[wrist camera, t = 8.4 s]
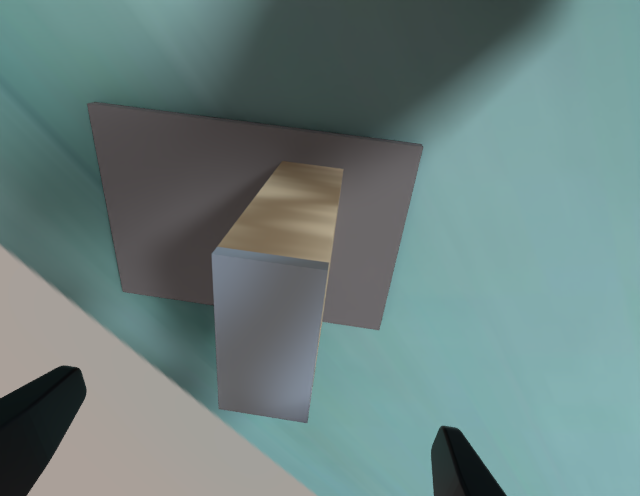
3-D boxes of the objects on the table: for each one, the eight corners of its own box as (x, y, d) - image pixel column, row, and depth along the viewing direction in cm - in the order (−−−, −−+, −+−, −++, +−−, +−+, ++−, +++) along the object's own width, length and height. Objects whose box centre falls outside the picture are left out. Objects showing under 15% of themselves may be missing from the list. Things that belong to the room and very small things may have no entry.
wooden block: (343, 169, 17) (327, 270, 9) (329, 273, 20) (307, 423, 12) (282, 160, 17) (211, 253, 9) (276, 265, 20) (218, 409, 12)
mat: (421, 144, 17) (423, 146, 16) (378, 323, 22) (379, 330, 22) (95, 102, 18) (87, 103, 17) (128, 286, 23) (122, 291, 22)
